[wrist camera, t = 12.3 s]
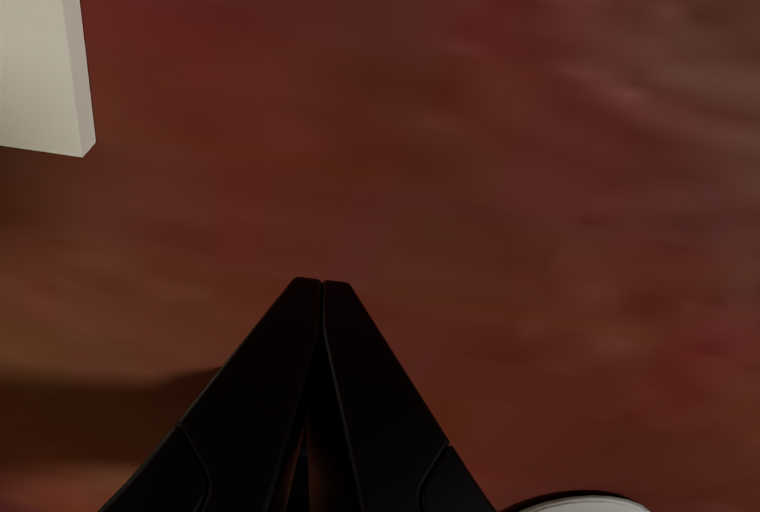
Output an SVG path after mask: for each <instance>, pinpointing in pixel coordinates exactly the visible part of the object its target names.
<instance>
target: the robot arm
mask: <svg viewBox="0 0 760 512" xmlns="http://www.w3.org/2000/svg"><path fill="white" fill-rule="evenodd" d="M449 444H450V442H449V440H448V438H447V437H446V435H445V433H444V432H443V430H442V429H441V427H440V425H439V424H438V422H437V421H436V419H435V418H434V416H433V414H432V413H431V411H430V410H429V408H428V407H427V405H426V403H425V402H424V400H423V399H422V397H421V396H420V394H419V392H418V391H417V389H416V388H415V386H414V385H413V383H412V381H411V380H410V378H409V377H408V375H407V373H406V372H405V370H404V369H403V367H402V366H401V364H400V362H399V361H398V359H397V358H396V356H395V355H394V353H393V351H392V350H391V348H390V347H389V345H388V344H387V342H386V340H385V339H384V337H383V336H382V334H381V332H380V331H379V329H378V328H377V326H376V325H375V323H374V321H373V320H372V318H371V317H370V315H369V314H368V312H367V310H366V309H365V307H364V306H363V304H362V303H361V301H360V299H359V298H358V296H357V295H356V293H355V291H354V290H353V288H352V287H351V285H350V284H349V283H347V282H340V281H331V280H325V281H323V283H321V281H320V280H319V279H313V278H304V277H296V278H294V279H293V280H292V281H291V282H290V284H289V285H288V286H287V287H286V288H285V290H284V291H283V292H282V293H281V295H280V296H279V297H278V298H277V300H276V301H275V302H274V303H273V304H272V306H271V307H270V308H269V309H268V311H267V312H266V313H265V314H264V316H263V317H262V318H261V319H260V321H259V322H258V323H257V324H256V325H255V327H254V328H253V329H252V330H251V332H250V333H249V334H248V335H247V337H246V338H245V339H244V340H243V341H242V343H241V344H240V345H239V346H238V348H237V349H236V350H235V351H234V353H233V354H232V355H231V356H230V357H229V359H228V360H227V361H226V362H225V364H224V365H223V366H222V367H221V369H220V370H219V371H218V372H217V373H216V375H215V376H214V377H213V378H212V380H211V381H210V382H209V383H208V385H207V386H206V387H205V388H204V389H203V391H202V392H201V393H200V394H199V396H198V397H197V398H196V399H195V401H194V402H193V403H192V404H191V405H190V407H189V408H188V409H187V410H186V412H185V413H184V414H183V415H182V417H181V418H180V419H179V420H178V422H177V426H174V427H172V428H171V430H170V431H169V432H168V433H167V435H166V436H165V437H164V438H163V440H162V441H161V442H160V443H159V444H158V446H157V447H156V448H155V449H154V451H153V452H152V453H151V454H150V455H149V456H148V457H147V459H146V460H145V461H144V462H143V463H142V464H141V466H140V467H139V468H138V469H137V470H136V471H135V472H134V474H133V475H132V476H131V477H130V478H129V479H128V481H127V482H126V483H125V484H124V485H123V486H122V487H121V488H120V489H119V490H118V491H117V492H116V493H115V494H114V495H113V496H112V497H111V498H110V499H109V500H108V501H107V502H106V503H105V504H104V505H103V506H102V508H101V509H100V510H99V511H98V512H497V511H496V510H495V509H494V507H493V506H492V505H491V503H490V502H489V500H488V499H487V497H486V496H485V495H484V493H483V492H482V490H481V489H480V487H479V486H478V484H477V483H476V481H475V480H474V478H473V477H472V475H471V474H470V472H469V471H468V469H467V468H466V466H465V465H464V463H463V462H462V460H461V458H460V457H459V455H458V454H457V452H456V450H455V449H454V447H453V446H449Z"/></svg>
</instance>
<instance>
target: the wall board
mask: <svg viewBox="0 0 760 512" xmlns="http://www.w3.org/2000/svg"><path fill="white" fill-rule="evenodd" d="M95 143H96V139H95V130H94V122H93V113H92V104H91V96H90V87H89V78H88V70H87V61H86V52H85V43H84V35H83V26H82V17H81V9H80V0H0V146H7V147H14V148H21V149H28V150H35V151H42V152H49V153H56V154H63V155H70V156H77V157H83V156H84V155H85V154H86V153H87V152H88V151H89V149H90V148H91V147H92V146H93V145H94V144H95Z"/></svg>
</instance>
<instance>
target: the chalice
mask: <svg viewBox="0 0 760 512" xmlns="http://www.w3.org/2000/svg"><path fill="white" fill-rule="evenodd" d="M519 512H650V511H649V510H648V509H646V508H645V507H644V506H643V505H641V504H638V503H636V502H633V501H631V500H628V499H623V498H618V497H613V496H598V495H586V496H575V497H566V498H561V499H556V500H551V501H547V502H543V503H540V504H537V505H534V506H531V507H528V508H525V509H523V510H521V511H519Z"/></svg>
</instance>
